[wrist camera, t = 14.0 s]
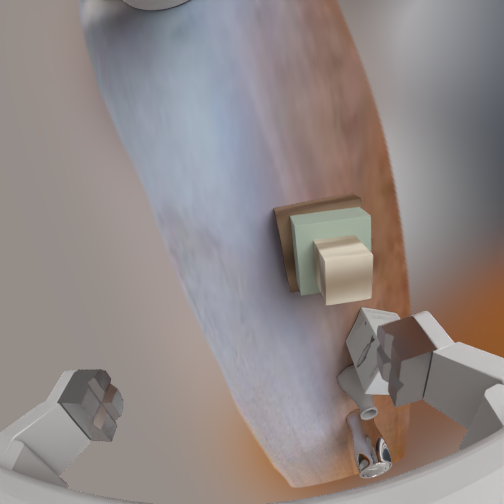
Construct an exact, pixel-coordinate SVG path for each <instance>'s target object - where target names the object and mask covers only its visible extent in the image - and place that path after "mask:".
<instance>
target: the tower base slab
mask: <svg viewBox="0 0 504 504" xmlns="http://www.w3.org/2000/svg"><path fill="white" fill-rule="evenodd" d="M356 207H360V208H361V209H362V202H361V198H359V197H358V196H356V195H355V194H353V193H349V194H344V195H338V196H333V197H328V198H322V199H317V200H312V201H307V202H301V203H296V204H291V205H286V206H281V207H276V208H274V212H275V217H276V222H277V227H278V232H279V237H280V242H281V247H282V252H283V258H284V263H285V268H286V273H287V279H288V283H289V287H290V292H296V291H300V290H299V287H298V283H297V278H296V268H295V258H294V248H293V239H292V230H291V221H290V216H293V215H300V214H308V213H315V212H323V211H331V210H339V209H347V208H356Z"/></svg>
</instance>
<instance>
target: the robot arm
mask: <svg viewBox="0 0 504 504" xmlns="http://www.w3.org/2000/svg"><path fill="white" fill-rule="evenodd" d="M122 1H124V2H126V3H127V4H129V5H130V6H132V7H135V8H138V9H143V10H161V9H167V8H171V7H174V6H177V5H180V4H182V3H184V2H186V1H188V0H122ZM377 338H378V340H379V342H380V345H379V346H378V348H377V364H378V368H379V372H380V374H381V377H382V379H383V380H384V381H386V382H388V392H389V395H390V397H391V399H392V401H393V404H394V406H395V407H399V406H402V405H405V404H408V403H412V402H415V401H418V400H421V399H423V400H424V401H425V402H427V403H428V404H430V405H431V406H433V407H434V408H436V409H437V410H439V411H440V412H442V413H444V414H445V415H447V416H448V417H450V418H451V419H453V420H454V421H456V422H457V423H459V424H461V425H462V426H464V427H465V428H467V429H468V431H467V433H466V435H465V437H464V439H463V441H462V443H461V444H460V447H459V449H460V451H458V452H456V453H454V454H451V455H449V456H447V457H445V458H442V459H440V460H438V461H436V462H433V463H430V464H428V465H425V466H423V467H420V468H418V469H415V470H412V471H410V472H407V473H404V474H401V475H398V476H395V477H392V478H389V479H386V480H383V481H379V482H376V483H372V484H369V485H366V486H362V487H358V488H354V489H350V490H346V491H341V492H337V493H333V494H327V495H323V496H318V497H312V498H306V499H299V500H292V501H285V502H277V503H268V504H504V358H501V357H499V356H496V355H493V354H491V353H488V352H485V351H482V350H480V349H477V348H474V347H472V346H468V345H466V344H463V343H461V342H457V343H454V342H453V341H452V340H451V339H450V337H449V336H448V335H447V333H446V332H445V331H444V330H443V328H442V327H441V326H440V325H439V324H438V322H437V321H436V320H435V319H434V317H433V316H432V315H431V314H430V313H429V312H428V311H423V312H420V313H417V314H414V315H411V316H410V317H406V318H403V319H399V320H396V321H393V322H389V323H386V324H382V325H378V328H377ZM110 382H111V378H110V376H109V375H108V373H107V372H106V371H104V370H67V371H65V372H63V374H62V376H61V378H60V379H59V381H58V382H57V384H56V385H55V387H54V389H53V390H52V392H51V394H50V396H49V397H48V399H47V401H46V402H42V403H40V404H39V405H38V406H36V407H35V408H34V409H32V410H31V411H29V412H28V413H27V414H25V415H24V416H22V417H21V418H20V419H18V420H17V421H16V422H14V423H13V424H11V425H10V426H9V427H7V428H6V429H4V430H3V431H2V432H0V504H153V503H143V502H135V501H128V500H121V499H115V498H109V497H104V496H99V495H94V494H89V493H85V492H80V491H76V490H72V489H68V484H67V483H66V482H65V481H64V480H63V479H62V478H60V477H59V476H60V474H61V473H62V472H63V471H64V470H65V469H66V468H67V467H68V466H69V465H70V464H71V463H72V461H74V459H76V457H77V456H78V455H79V454H80V453H81V452H82V451H83V450H84V449H85V448H86V447H87V446H88V445H89V443H90V442H91V441H90V440H92V441H93V440H94V441H108V442H111V441H112V439H113V436H114V434H115V431H116V428H117V425H116V422H115V420H117V419H118V418H119V417H120V416H121V414H122V411H123V399H122V396H121V393H120V392H119V390H118V389H117V388H116V387H115V386H113V385H112V384H110Z"/></svg>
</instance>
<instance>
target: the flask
mask: <svg viewBox="0 0 504 504" xmlns="http://www.w3.org/2000/svg"><path fill="white" fill-rule="evenodd" d="M337 380H338V383H339V386H340V387H341V388H342V389H343V390H344V391H345V392H346V393H347V394H348V395H349V396H350V397H351V399H352V400H353V401H354V402H355V403H356V404H357V406H358V408H359V409H360V417H361V419H363V420H369V419H371V418H373V417H375V416H376V415H377V414H378V410H377V408H375V407H374V404H373V399H372V394H365V393H364V390H363V387H362V384H361V382H360V379H359V376H358V374H357V371H356V368H355V366H354V365H351V366H348V367H346V368H345V369H344V370H343V371H342V372H341V373H340V374H339V375H338V376H337Z"/></svg>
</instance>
